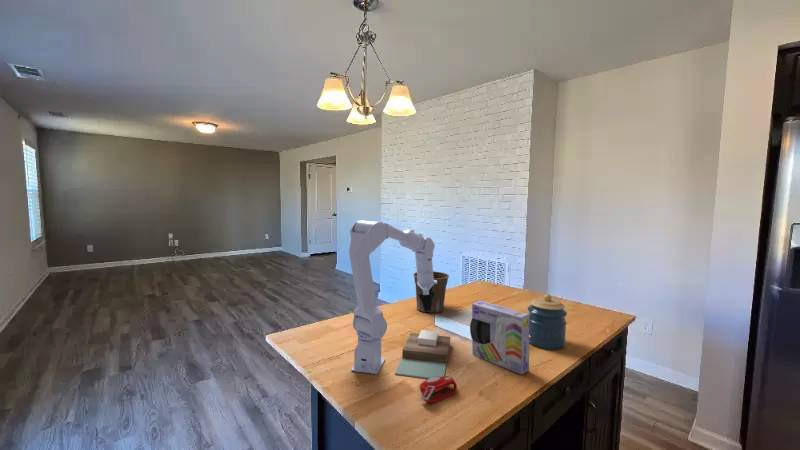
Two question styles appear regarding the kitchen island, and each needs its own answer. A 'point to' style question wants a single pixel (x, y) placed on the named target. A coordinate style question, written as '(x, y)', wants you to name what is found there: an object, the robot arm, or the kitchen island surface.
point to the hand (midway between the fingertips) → (427, 305)
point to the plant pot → (438, 292)
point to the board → (426, 349)
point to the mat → (420, 368)
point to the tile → (428, 338)
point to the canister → (547, 323)
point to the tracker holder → (437, 388)
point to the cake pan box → (500, 336)
